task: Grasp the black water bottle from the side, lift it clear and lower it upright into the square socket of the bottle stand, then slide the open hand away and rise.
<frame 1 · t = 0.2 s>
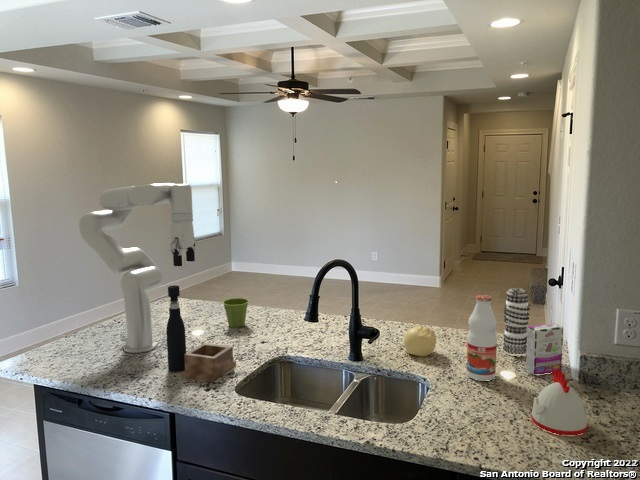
hand: (184, 263, 190), 36 cm above the worktop, tool pointing down, fingers open, 9 cm apart
bottle stand: (209, 370, 180), on the worktop
white and red dome: (558, 424, 142), on the worktop
candy bar box: (542, 372, 177), on the worktop
decorative candle: (514, 353, 194), on the worktop
plant pot: (236, 325, 231), on the worktop
fruit juice: (480, 377, 173), on the worktop
black water bottle: (177, 369, 182), on the worktop
pale yellow round lump: (419, 354, 195), on the worktop
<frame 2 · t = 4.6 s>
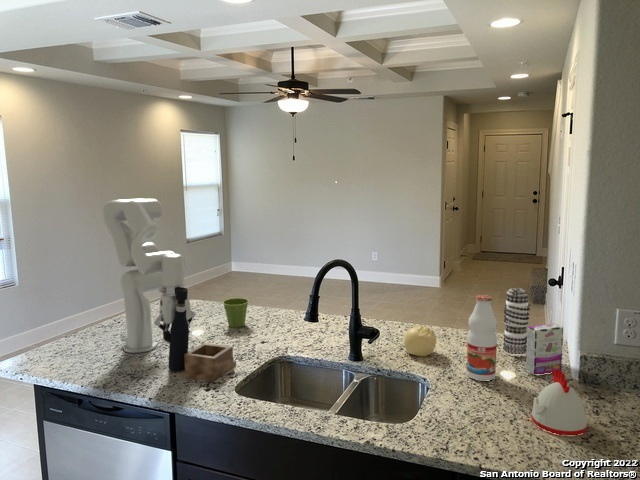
hand: (176, 338, 181), 11 cm above the worktop, tool pointing down, fingers closed on black water bottle, 6 cm apart
black water bottle: (177, 367, 182), on the worktop, touching gripper
everything else where it was.
when the fingers open (13 cm above the worktop, at t = 11.2 s): black water bottle stays where it is, resting on arm, bottle stand.
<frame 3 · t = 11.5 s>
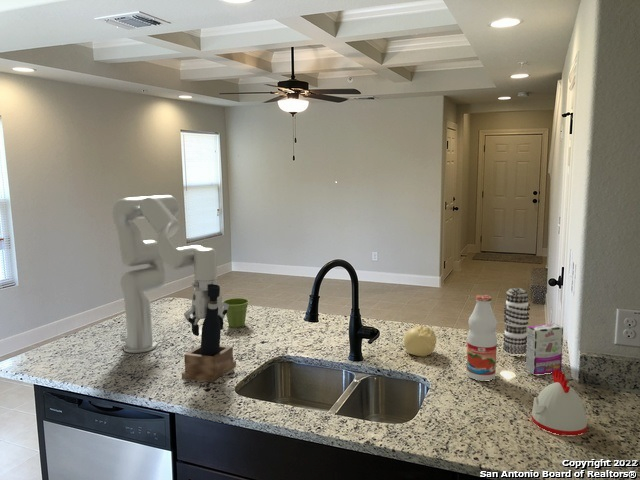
hand: (208, 331, 178), 14 cm above the worktop, tool pointing down, fingers open, 9 cm apart
black water bottle: (209, 365, 180), point 2 cm above the worktop, touching arm, bottle stand
everything else where it was.
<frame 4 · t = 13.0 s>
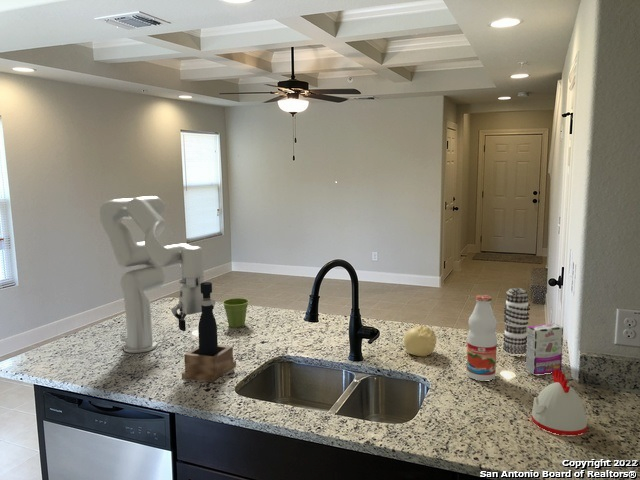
hand: (194, 327, 185), 14 cm above the worktop, tool pointing down, fingers open, 9 cm apart
black water bottle: (209, 367, 180), point 1 cm above the worktop, touching bottle stand
everything else where it was.
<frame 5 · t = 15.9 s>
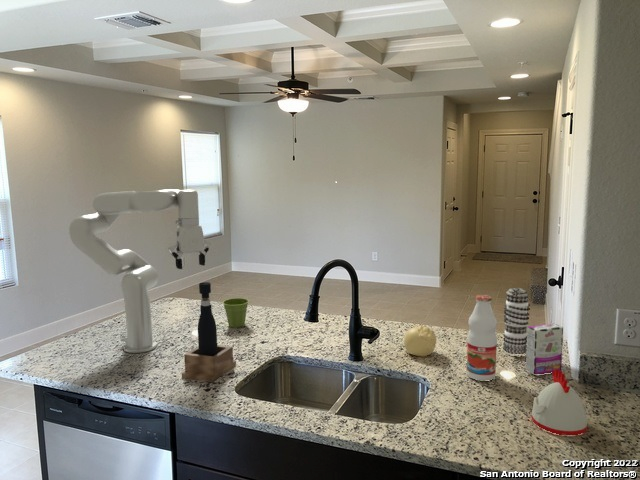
hand: (190, 266, 196), 33 cm above the worktop, tool pointing down, fingers open, 9 cm apart
nothing on the worktop moved.
at the end: black water bottle 0.3 cm off-centre on the bottle stand, point 1.3 cm above the bottle stand's base; black water bottle tilted 0°; the gripper is holding nothing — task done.
